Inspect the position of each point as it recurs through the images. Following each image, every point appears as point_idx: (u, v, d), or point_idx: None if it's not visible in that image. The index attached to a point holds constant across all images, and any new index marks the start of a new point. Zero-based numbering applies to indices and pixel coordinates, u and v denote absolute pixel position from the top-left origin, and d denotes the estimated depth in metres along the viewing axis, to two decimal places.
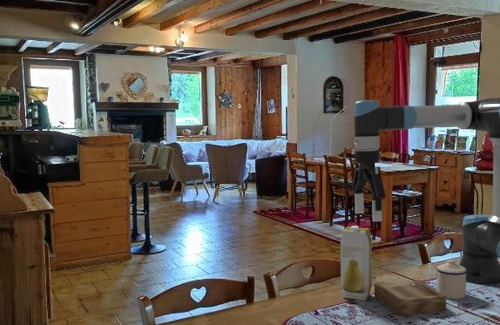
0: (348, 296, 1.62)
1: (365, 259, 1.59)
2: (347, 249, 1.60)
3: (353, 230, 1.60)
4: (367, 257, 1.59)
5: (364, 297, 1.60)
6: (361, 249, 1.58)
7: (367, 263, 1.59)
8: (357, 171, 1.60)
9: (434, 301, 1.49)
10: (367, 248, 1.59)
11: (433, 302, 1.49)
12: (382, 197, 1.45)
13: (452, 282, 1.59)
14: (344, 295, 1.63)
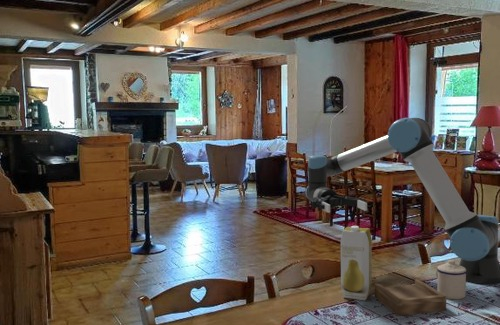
0: (348, 296, 1.62)
1: (365, 259, 1.59)
2: (347, 249, 1.60)
3: (353, 230, 1.60)
4: (367, 257, 1.59)
5: (364, 297, 1.60)
6: (361, 249, 1.58)
7: (367, 263, 1.59)
8: None
9: (434, 301, 1.49)
10: (367, 248, 1.59)
11: (433, 302, 1.49)
12: (312, 204, 1.76)
13: (452, 282, 1.59)
14: (344, 295, 1.63)
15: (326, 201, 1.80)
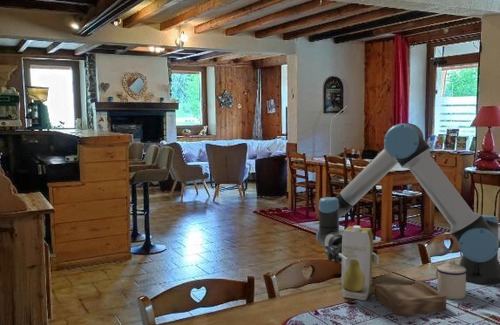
0: (348, 296, 1.62)
1: (366, 259, 1.59)
2: (348, 248, 1.60)
3: (355, 230, 1.60)
4: (368, 257, 1.59)
5: (364, 297, 1.60)
6: (362, 249, 1.58)
7: (368, 263, 1.59)
8: None
9: (434, 301, 1.49)
10: (368, 248, 1.58)
11: (433, 302, 1.49)
12: (328, 256, 1.65)
13: (452, 282, 1.59)
14: (344, 294, 1.63)
15: (340, 251, 1.70)
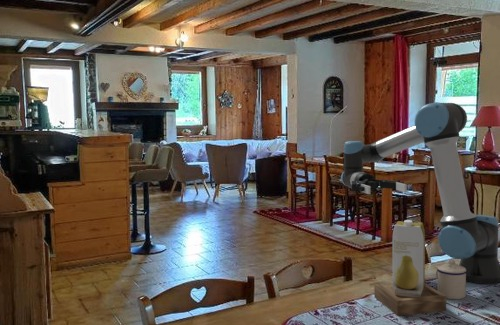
0: (401, 294, 1.54)
1: (420, 255, 1.51)
2: (400, 244, 1.52)
3: (407, 224, 1.52)
4: (422, 253, 1.51)
5: (418, 295, 1.52)
6: (415, 244, 1.51)
7: (422, 259, 1.51)
8: None
9: (434, 301, 1.49)
10: (422, 243, 1.51)
11: (433, 302, 1.49)
12: (352, 187, 1.78)
13: (452, 282, 1.59)
14: (396, 293, 1.55)
15: (365, 184, 1.83)
